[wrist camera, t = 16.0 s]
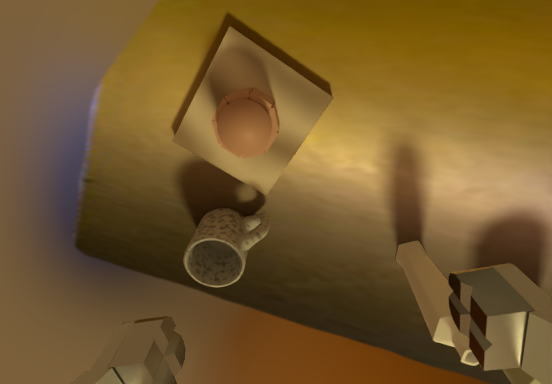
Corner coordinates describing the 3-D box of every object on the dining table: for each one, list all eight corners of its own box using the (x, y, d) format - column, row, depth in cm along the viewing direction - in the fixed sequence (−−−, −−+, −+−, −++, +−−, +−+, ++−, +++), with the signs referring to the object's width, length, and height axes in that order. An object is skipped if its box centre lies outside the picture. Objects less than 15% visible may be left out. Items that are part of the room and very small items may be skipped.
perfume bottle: (385, 249, 40) (436, 351, 26) (417, 232, 39) (488, 331, 25) (400, 273, 41) (457, 382, 28) (432, 258, 40) (507, 363, 27)
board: (231, 27, 30) (229, 26, 29) (332, 96, 32) (333, 97, 31) (175, 137, 35) (172, 140, 34) (266, 191, 37) (266, 195, 36)
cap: (289, 109, 32) (289, 118, 28) (259, 156, 34) (255, 171, 30) (238, 76, 31) (231, 80, 27) (210, 127, 33) (200, 138, 29)
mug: (218, 259, 42) (206, 295, 36) (188, 221, 39) (171, 252, 33) (283, 228, 39) (282, 261, 33) (256, 186, 37) (250, 212, 31)
